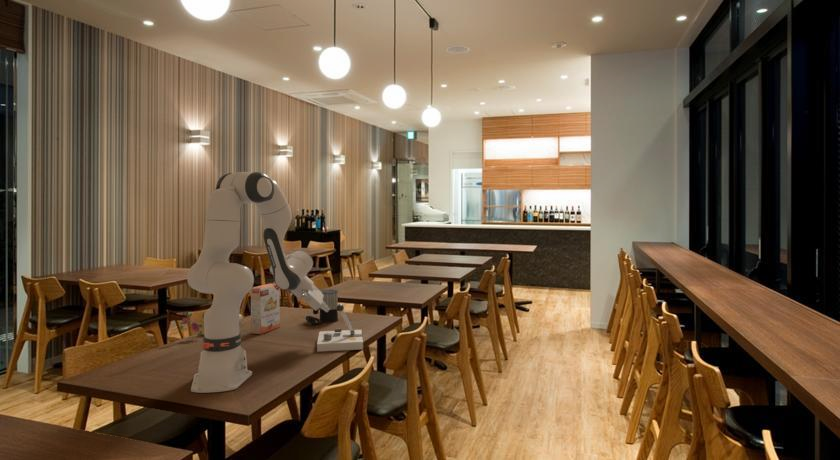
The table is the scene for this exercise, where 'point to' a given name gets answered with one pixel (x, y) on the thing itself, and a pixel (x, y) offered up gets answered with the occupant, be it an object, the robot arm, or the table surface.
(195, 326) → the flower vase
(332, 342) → the switch panel
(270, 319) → the cracker box
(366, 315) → the table surface
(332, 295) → the milk frother
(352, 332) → the toggle lever
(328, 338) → the push button
